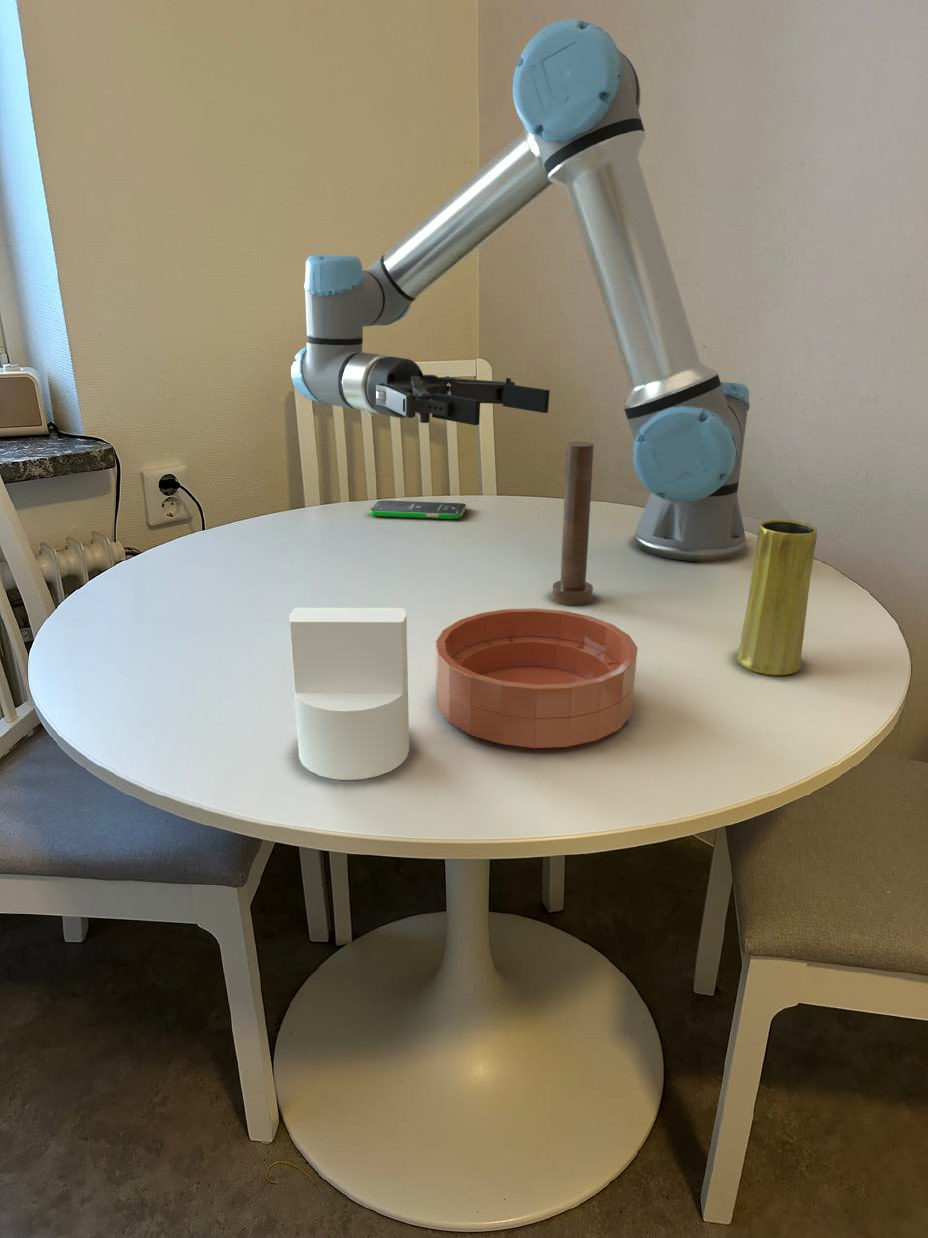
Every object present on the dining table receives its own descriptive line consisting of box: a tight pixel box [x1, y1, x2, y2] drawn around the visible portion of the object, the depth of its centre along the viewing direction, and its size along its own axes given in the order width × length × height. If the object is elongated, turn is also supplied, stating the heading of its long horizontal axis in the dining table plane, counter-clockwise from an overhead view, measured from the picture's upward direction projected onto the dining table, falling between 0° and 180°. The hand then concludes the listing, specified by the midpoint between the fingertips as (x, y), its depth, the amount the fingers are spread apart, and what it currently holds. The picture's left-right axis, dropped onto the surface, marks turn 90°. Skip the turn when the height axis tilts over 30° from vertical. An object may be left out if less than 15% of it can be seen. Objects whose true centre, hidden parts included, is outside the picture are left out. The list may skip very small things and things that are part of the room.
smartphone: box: [368, 499, 467, 520], centre depth 142 cm, size 8×1×15 cm
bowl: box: [435, 607, 638, 749], centre depth 78 cm, size 18×18×6 cm
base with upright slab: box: [288, 607, 410, 781], centre depth 70 cm, size 9×9×12 cm
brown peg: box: [551, 441, 595, 607], centre depth 102 cm, size 5×5×19 cm
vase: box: [736, 519, 818, 677], centre depth 85 cm, size 6×6×14 cm
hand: (514, 406), depth 103 cm, fingers open, 13 cm apart
